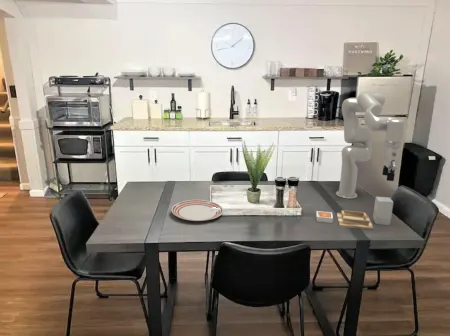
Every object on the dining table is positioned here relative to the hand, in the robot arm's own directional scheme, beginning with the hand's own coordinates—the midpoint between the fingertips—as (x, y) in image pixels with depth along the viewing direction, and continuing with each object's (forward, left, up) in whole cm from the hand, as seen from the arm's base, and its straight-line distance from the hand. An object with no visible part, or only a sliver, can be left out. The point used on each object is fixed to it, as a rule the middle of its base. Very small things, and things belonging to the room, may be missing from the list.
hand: (387, 177), depth 182 cm
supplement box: (0, 0, -24) cm, 24 cm away
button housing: (+4, -29, -24) cm, 38 cm away
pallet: (+4, -14, -24) cm, 28 cm away
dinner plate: (+14, -95, -24) cm, 99 cm away
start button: (+4, -29, -23) cm, 37 cm away
